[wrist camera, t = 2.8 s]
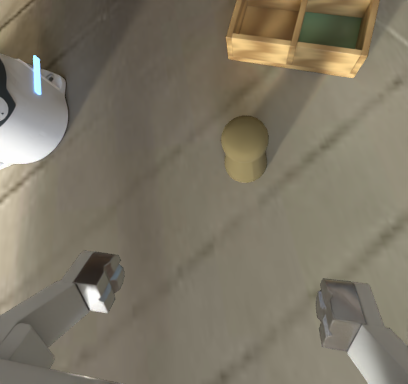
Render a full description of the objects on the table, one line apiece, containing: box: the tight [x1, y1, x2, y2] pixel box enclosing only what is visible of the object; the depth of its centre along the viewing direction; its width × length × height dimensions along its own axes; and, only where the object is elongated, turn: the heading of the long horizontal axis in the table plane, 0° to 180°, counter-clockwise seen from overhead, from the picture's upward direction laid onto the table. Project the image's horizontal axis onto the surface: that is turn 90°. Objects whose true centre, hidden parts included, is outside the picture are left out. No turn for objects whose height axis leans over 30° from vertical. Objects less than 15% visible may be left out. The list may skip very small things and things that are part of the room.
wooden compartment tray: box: [226, 0, 380, 78], centre depth 40 cm, size 18×18×5 cm
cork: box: [221, 116, 269, 183], centre depth 34 cm, size 6×6×11 cm
